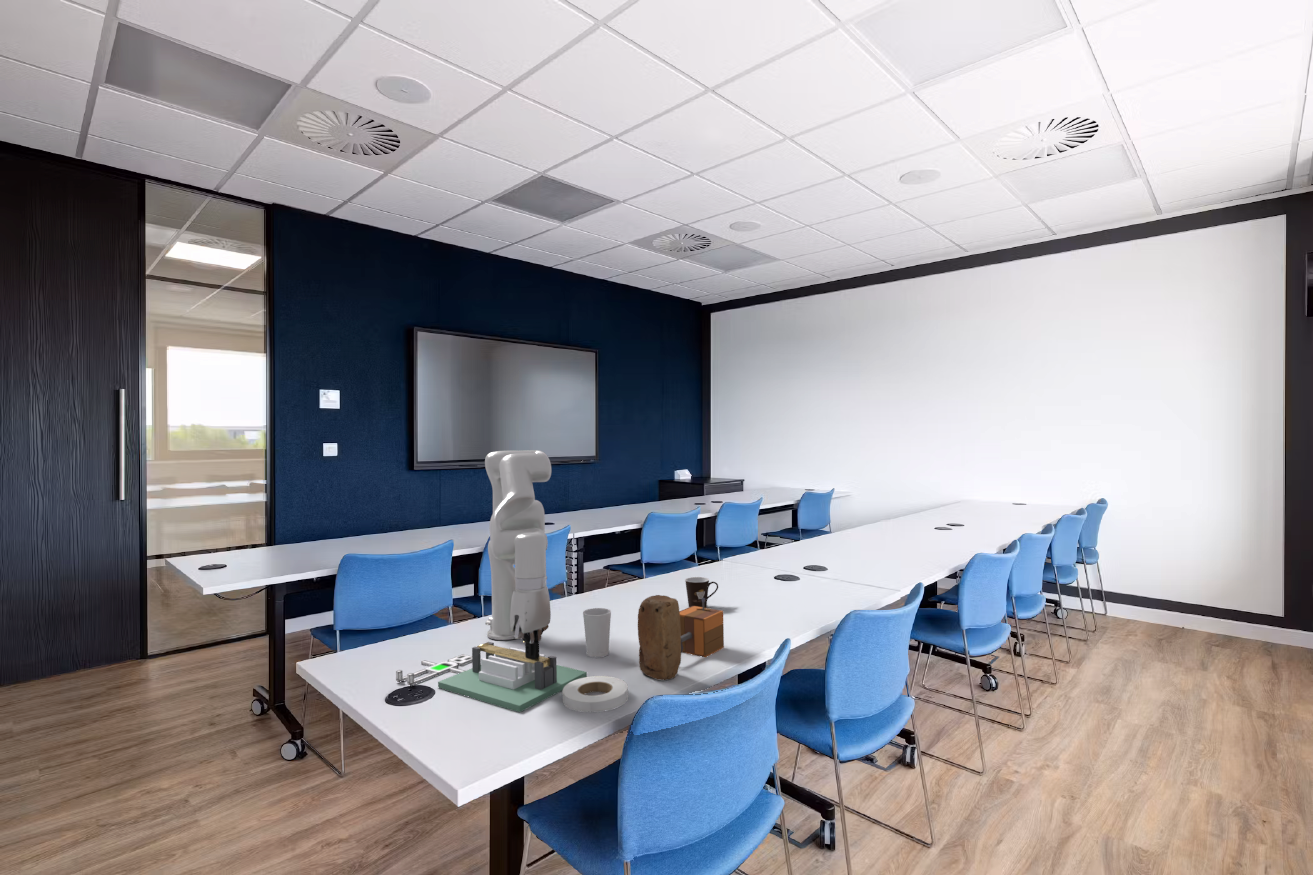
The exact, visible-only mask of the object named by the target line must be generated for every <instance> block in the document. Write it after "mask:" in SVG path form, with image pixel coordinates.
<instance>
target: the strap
mask: <svg viewBox="0 0 1313 875" xmlns="http://www.w3.org/2000/svg"><path fill="white" fill-rule="evenodd" d="M476 647H479V648H480V653H481V652H485V653H486V652H488V653H492V654H494V655H495V654H496V655H500V656H504V657H508V658H513V659H517V660H521V661H525V662H529V663H533V664H534V663H535V662H537V661H538V662H542V663H544V667H546V666H549V665H550V658H548V657H546V656H545V657H541V656H539V658H536V659H535V660H533V659H529V658H526V657H525V653H524V652H520V651H515V650H511V649H509V648H506V647H503V646H498V645H495V644H494V645H489V643H486V642H485V643H482V644H479V645H477V646H476Z"/></svg>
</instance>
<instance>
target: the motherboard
mask: <svg viewBox="0 0 1313 875" xmlns="http://www.w3.org/2000/svg"><path fill="white" fill-rule="evenodd" d="M485 643H489V645H494V646H495V642H492V641H487V642H485ZM508 649H511V650H515V651H520V652H524V653H525V649H520V648H516V647H509V648H508ZM471 656H472V662H471V663H472V664H471V667H472V668H469V669H467V670H465V671H464V672H461V673H459V674H458V673H455V674H454V675H452V676H449V677H447V678H444V679H442V680H439V681H437V687H439V689H440V688H442V689H441V690H444V689H445V690H444V691H447V690H448V691H449V692H450V691H452V692H451V693H454V694H457V693H459V694H458V695H460V694H461V696H464V695H465V696H464V697H467V696H469V697H468V698H470V697H471V699H474V698H475V699H474V700H478V701H480V700H481V701H480V702H484V703H488V704H490V705H494V706H497V707H501V708H504V709H507V710H511V711H514V712H517V713H520V712H522V711H525V710H527V709H528V708H530V707H532V706H534V705H536V704H539V703H540V702H542V701H545V700H546V699H549V698H550V697H552V696H554V695H556V694H558V693H561V692H563V688H564V687H565V686H566V685H567V684H568V683H570V682H572V681H574V680H577V679H580V678H584V677H588V673H587V671H584V670H579V669H576V668H572V667H567V666H564V665H559V664H557V656H553V655H549V656H547V658H550V665H549V666H546V667H544V663H542V662H538V661H537V662H535V663H534V664H533V663H529V662H525V661H521V660H517V659H513V658H508V657H504V656H500V655H496V654H492V653H488V652H485V657H483V658H481V657H482V656H481V652H480V648H479V647H477V646H473V647H471ZM539 656H541V657H546V655H545V654H543V653H542V654H541V653H539ZM448 691H447V692H448Z"/></svg>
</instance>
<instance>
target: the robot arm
mask: <svg viewBox="0 0 1313 875" xmlns="http://www.w3.org/2000/svg"><path fill="white" fill-rule="evenodd" d="M484 467H485V470H486V474H487V476H488V479H489V481H490V484H491V488H492V514H491V517H490V520H489V541H488V545H487V554H488V559H489V565H490V573H491V574H490V576H491V579H490V580H491V617H489V618H488V620H486V621H485V625H486V626H489V628H490V629H489V630H488V631H487V634H486V635H487V638H489V639H491V640H496V641H508V640H510V641H511V640H515V639H516V640H517V639H518V640H522V642H523V643H524V645H525V646H524V650H525V657H526V658H529V659H533V660H535V659H536V658H539V654H540V641H542V636H543V633H544V632H545V631H546V630H548V629H549V624H550V623H551V616H552V615H551V614H552V613H551V601H550V600H551V599H550V593H549V589H548V586H547V580H548V576H547V557H546V556H547V555H546V554H547V552H546V551H547V550H548V543H549V541H548V536H547V534H546V533H545V532H546V531H545V523H546V521H545V520H546V517H545V509H544V506H543V504H542V502H541V501H539V500H537V499H536V496H535V491H534V485H533V483H545V482H548V481H549V480H550V478H551V476H552V464H551V460H550V458H549V456H548V455H547V454H546V453H545V452H543V451H542V450H539V449H536V450H535V449H532V450H531V449H529V450H498V451H497V450H496V451H492V452H491V451H490V452H489V453H488V454H487V455H486V456H485V460H484Z"/></svg>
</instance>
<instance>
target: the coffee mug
mask: <svg viewBox="0 0 1313 875" xmlns="http://www.w3.org/2000/svg"><path fill="white" fill-rule="evenodd" d="M684 582H685V588H686V596H687V605H688V608H689V607H691V606H698V607H703V605H702V598H705V602H704V608H708V606H707V604H708V600H709V599H710V598H711V597H712V596H714V595H715V594H716V593H717V591H718V590H719V584H718V583H717V582H716V581H710V579H709V578H707V577H705V576H704V577H701V576H695V577H693V576H692V577H691V576H690V577H687V578H685V579H684ZM712 584H715V585H716V588H715V590H714V591H713V592H712V593H711V594H708V593H709V588H710V585H712Z"/></svg>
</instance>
